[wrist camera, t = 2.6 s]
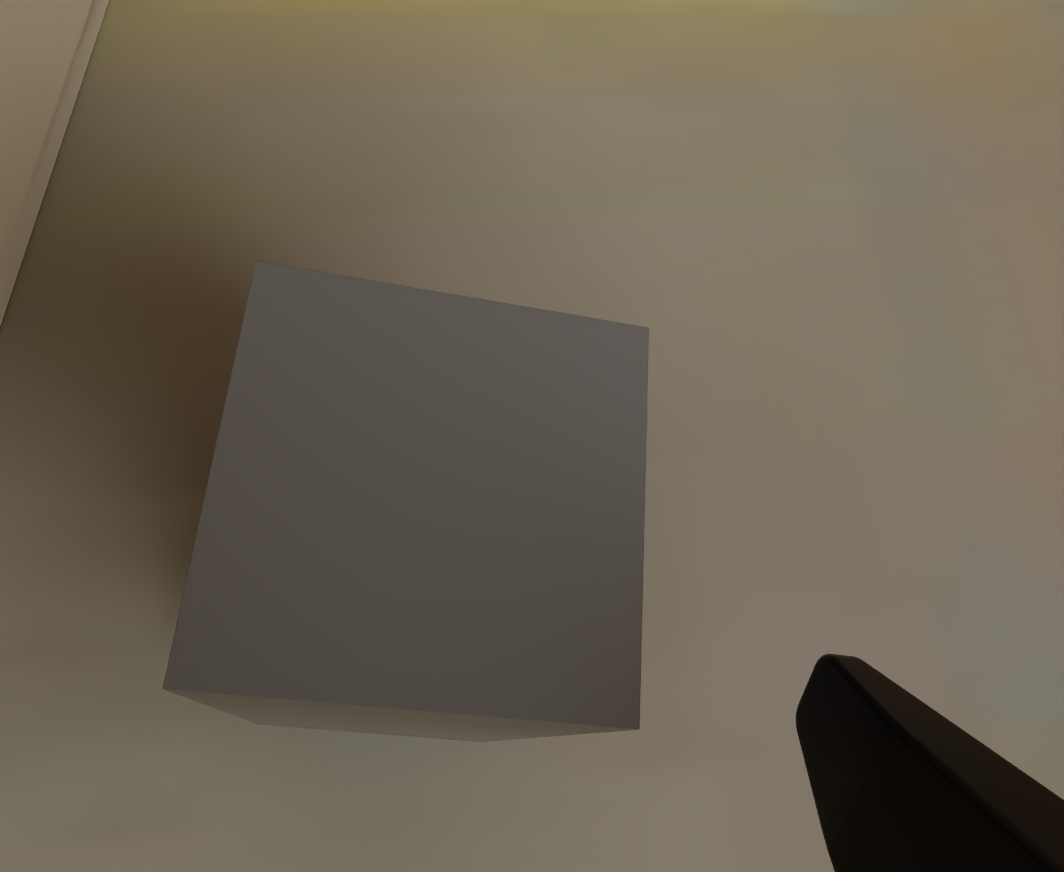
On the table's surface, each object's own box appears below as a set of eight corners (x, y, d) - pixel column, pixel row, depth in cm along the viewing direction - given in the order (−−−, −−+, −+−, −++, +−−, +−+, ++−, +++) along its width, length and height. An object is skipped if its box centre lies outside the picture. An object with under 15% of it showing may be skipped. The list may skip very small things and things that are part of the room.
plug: (482, 741, 18) (639, 729, 8) (256, 723, 17) (161, 688, 8) (500, 530, 19) (648, 327, 10) (296, 504, 18) (256, 260, 9)
